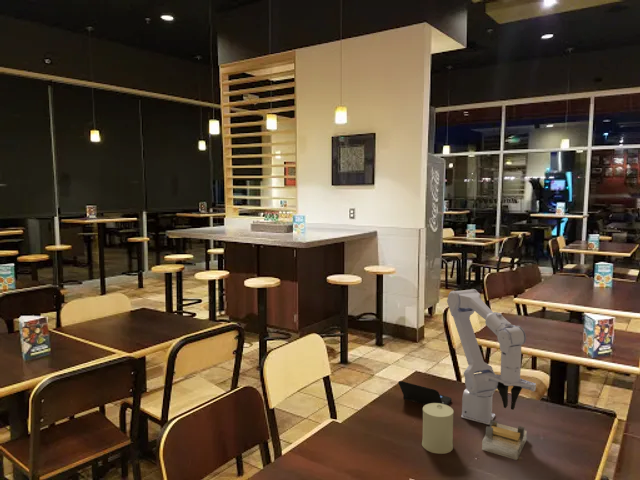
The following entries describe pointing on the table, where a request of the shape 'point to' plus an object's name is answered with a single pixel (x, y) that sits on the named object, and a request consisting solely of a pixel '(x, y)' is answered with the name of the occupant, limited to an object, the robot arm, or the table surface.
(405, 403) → the table surface
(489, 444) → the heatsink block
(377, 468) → the table surface
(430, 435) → the can
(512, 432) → the golden yellow flat bar
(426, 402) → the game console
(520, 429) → the lug
